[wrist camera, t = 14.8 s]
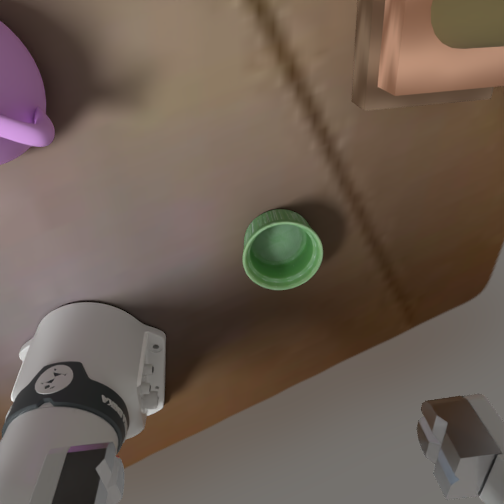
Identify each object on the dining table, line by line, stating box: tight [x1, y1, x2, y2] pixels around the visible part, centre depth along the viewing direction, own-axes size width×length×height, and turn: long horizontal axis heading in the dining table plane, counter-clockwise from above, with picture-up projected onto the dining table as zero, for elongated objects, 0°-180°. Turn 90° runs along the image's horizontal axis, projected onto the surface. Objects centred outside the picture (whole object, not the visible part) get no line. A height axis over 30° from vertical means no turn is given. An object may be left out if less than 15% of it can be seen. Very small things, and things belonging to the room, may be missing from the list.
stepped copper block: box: [352, 0, 504, 111], centre depth 34 cm, size 16×12×8 cm
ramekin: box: [243, 209, 323, 290], centre depth 47 cm, size 9×9×4 cm
